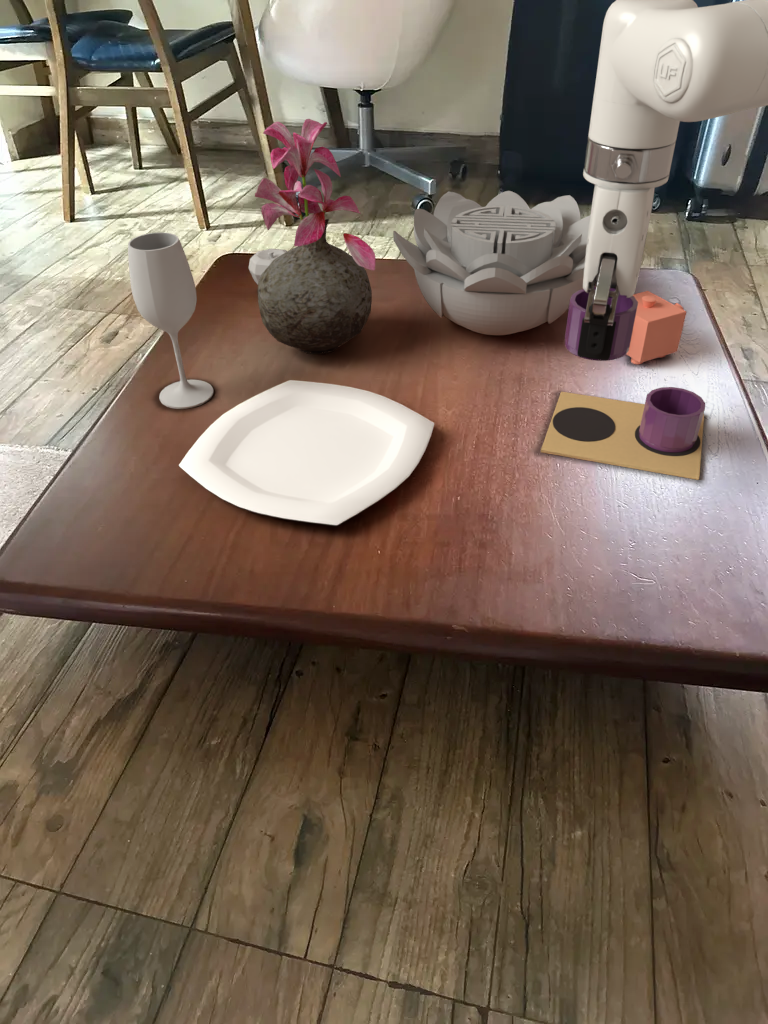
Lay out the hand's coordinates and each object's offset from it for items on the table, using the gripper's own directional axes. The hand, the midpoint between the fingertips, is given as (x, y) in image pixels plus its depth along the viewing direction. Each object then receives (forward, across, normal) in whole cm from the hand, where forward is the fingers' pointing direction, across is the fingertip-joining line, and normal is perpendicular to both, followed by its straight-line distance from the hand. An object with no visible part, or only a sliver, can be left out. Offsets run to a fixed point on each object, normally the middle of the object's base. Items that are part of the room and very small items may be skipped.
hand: (598, 339), depth 81 cm
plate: (+16, -8, +31) cm, 35 cm away
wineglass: (+16, 0, +52) cm, 55 cm away
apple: (+16, +34, +55) cm, 67 cm away
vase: (+16, +19, +40) cm, 47 cm away
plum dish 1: (+1, 0, 0) cm, 1 cm away
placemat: (+16, +8, -5) cm, 18 cm away
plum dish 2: (+15, +8, -10) cm, 20 cm away
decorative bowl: (+16, +33, +17) cm, 41 cm away
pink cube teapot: (+16, +30, -5) cm, 34 cm away
